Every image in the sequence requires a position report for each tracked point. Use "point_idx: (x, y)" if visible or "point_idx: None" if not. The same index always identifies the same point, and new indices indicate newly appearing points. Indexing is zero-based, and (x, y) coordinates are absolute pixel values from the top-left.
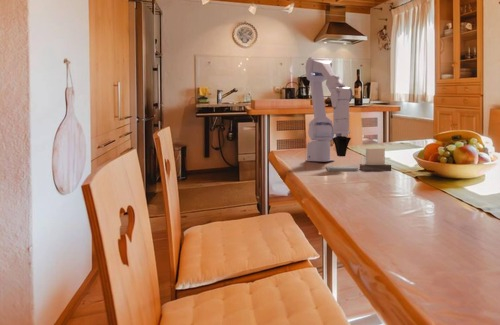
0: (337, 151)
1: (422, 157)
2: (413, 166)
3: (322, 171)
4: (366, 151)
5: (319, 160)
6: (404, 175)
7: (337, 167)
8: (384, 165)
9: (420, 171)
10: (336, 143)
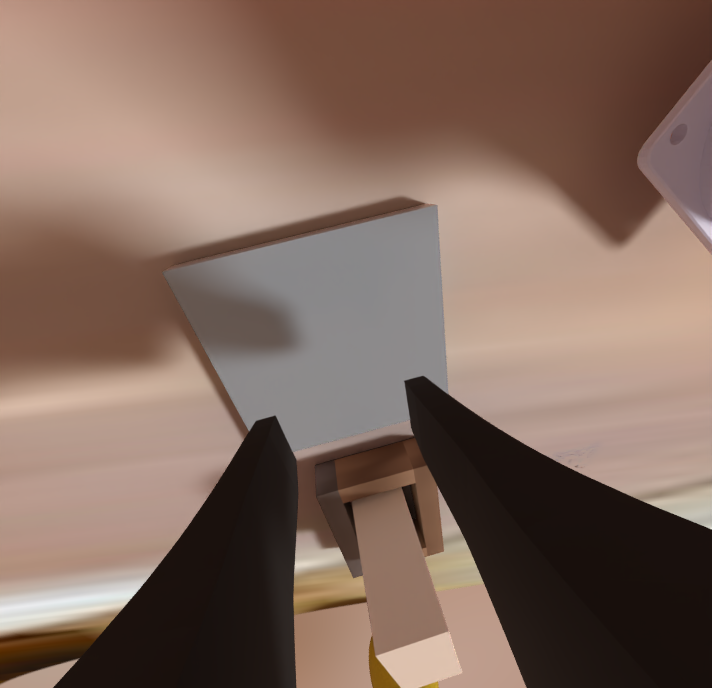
0: (426, 420)
1: (377, 679)
2: None
3: (117, 196)
4: (413, 604)
5: (703, 82)
6: (94, 606)
7: (315, 330)
8: (346, 558)
9: (325, 607)
10: (509, 543)
